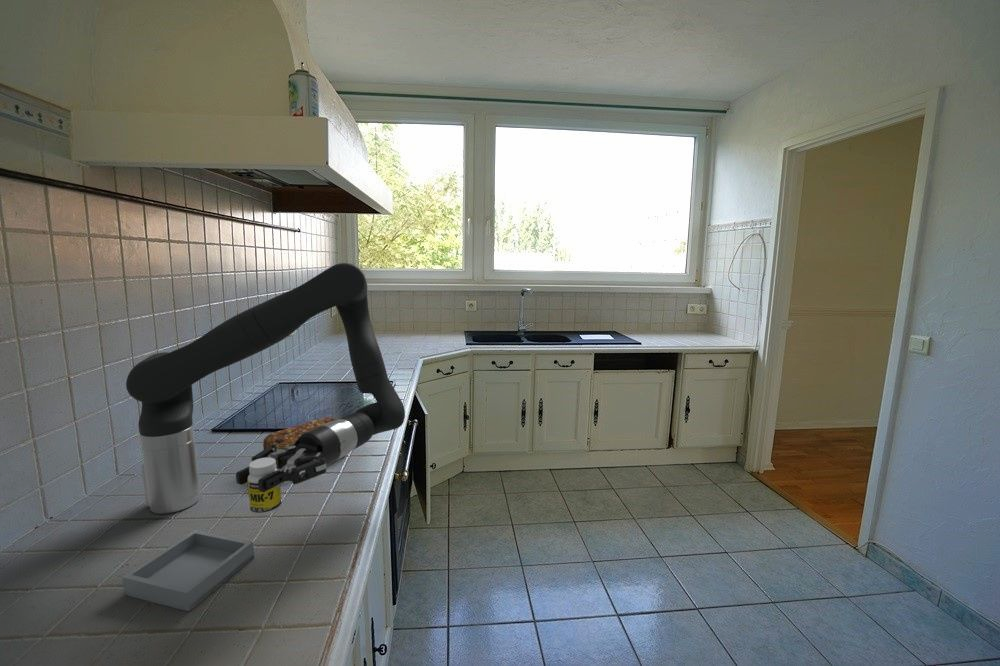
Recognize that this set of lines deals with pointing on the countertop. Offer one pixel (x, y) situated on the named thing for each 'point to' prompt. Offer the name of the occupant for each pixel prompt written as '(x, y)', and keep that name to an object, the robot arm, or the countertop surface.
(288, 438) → the bread
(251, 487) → the supplement bottle
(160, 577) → the bin
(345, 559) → the countertop surface
